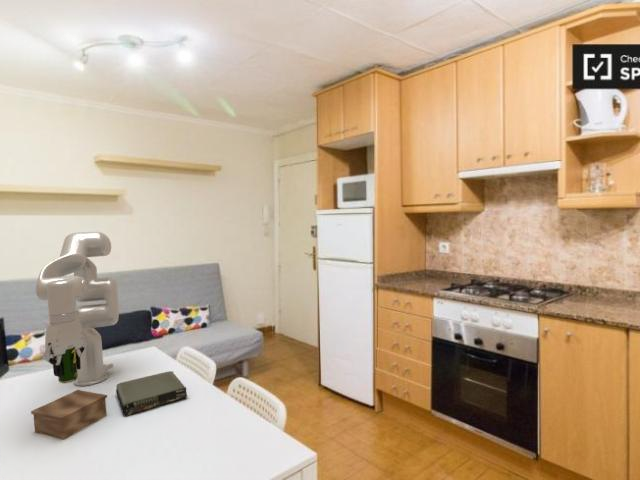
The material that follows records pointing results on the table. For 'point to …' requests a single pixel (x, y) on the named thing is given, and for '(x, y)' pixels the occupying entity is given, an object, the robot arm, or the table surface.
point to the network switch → (149, 392)
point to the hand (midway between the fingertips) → (67, 371)
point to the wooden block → (69, 414)
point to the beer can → (69, 365)
